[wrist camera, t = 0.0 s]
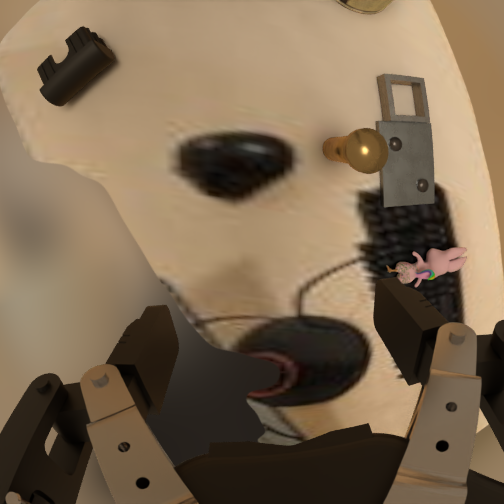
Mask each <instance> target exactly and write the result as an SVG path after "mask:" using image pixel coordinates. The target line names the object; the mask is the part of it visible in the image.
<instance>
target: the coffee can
mask: <svg viewBox="0 0 504 504" xmlns="http://www.w3.org/2000/svg"><path fill="white" fill-rule="evenodd" d="M336 1H337V2H338V3H340V4H341V5H343V6H344V7H346V8H348V9H350V10H352V11H355V12H359V13H364V14H374V13H378V12H381V11H382V10H384V9H385V8H386V6H387V5H388V4H390V3H391V2H392V1H393V0H336Z"/></svg>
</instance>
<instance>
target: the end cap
mask: <svg viewBox="0 0 504 504" xmlns="http://www.w3.org/2000/svg"><path fill="white" fill-rule="evenodd" d="M65 41H66V43H67V45H68V48H69V52H68V55H67V57H66V58H65V59H64V60H63V61H62V62H61V63H58V64H56V63H55V61H54V59H53V57H52V55H49V57H48V58H47V59H46V60H45V61H44V62H43V63H42V64H41V65H40V66H39V67H38V68H37V71H38V73H39V75H40V77H41V80H42V82H43V84H44V85H43V86H42V87H41V88H40V92H41V94H42V95H43V96H44V98H45V99H46V100H47V101H49V102H50V103H51V104H53V105H55V106H63V105H65V104H66V103H67V102H68V101H69V100H70V99H71V98H72V97H73V96H74V95H75V94H76V93H77V92H78V91H79V90H80V89H81V88H82V87H84V86H85V85H86V84H87V83H88V82H89V81H90V80H91V79H93V78H94V77H95V76H96V75H97V74H98V73H100V72H101V71H102V70H103V69H104V68H106V67H107V66H108V65H109V64H111V63H112V62H113V61H114V59H115V57H114V54H113V52H112V50H110V49H109V48H107V46H106V44H105V43H104V41H103V40H102V39H101V38H99V37H98V35H97V34H96V33H95V32H90V30H89V28H85V27H80V28H78V29H77V30H76V31H75V32H74V33H73V34H72V35H70V36H69V37H68V38H67V39H66V40H65Z"/></svg>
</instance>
